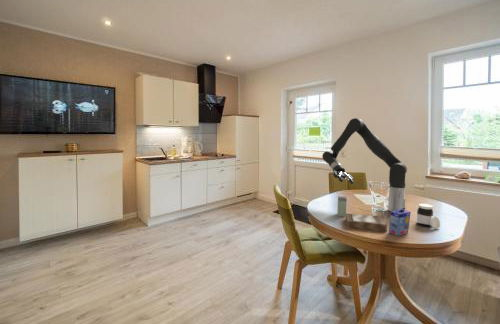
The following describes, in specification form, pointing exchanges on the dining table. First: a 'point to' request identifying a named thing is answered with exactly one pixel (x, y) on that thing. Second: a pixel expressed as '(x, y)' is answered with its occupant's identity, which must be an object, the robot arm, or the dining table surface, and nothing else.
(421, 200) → the dining table surface
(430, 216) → the spread jar
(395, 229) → the ink cartridge box
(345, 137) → the robot arm
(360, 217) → the dock
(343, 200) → the block
